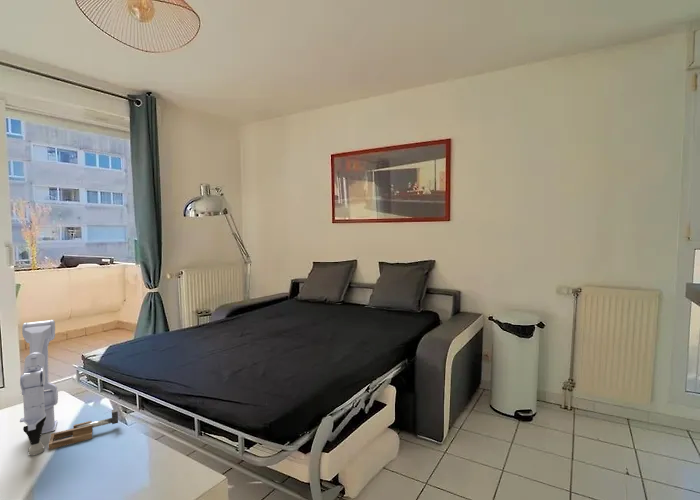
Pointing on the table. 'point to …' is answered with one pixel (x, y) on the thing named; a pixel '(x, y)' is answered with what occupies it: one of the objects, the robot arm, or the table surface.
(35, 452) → the rook chess piece
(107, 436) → the table surface
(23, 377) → the robot arm
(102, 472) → the table surface
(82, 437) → the wooden frame
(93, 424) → the grey metal hammer
